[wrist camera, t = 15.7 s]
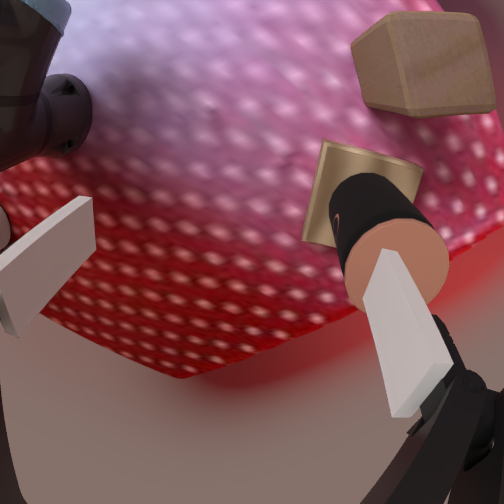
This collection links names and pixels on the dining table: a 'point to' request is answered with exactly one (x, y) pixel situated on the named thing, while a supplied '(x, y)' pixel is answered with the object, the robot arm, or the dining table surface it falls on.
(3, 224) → the cylinder vase
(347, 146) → the plinth
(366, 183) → the coffee jar
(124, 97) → the dining table surface
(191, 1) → the dining table surface
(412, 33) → the wooden block
